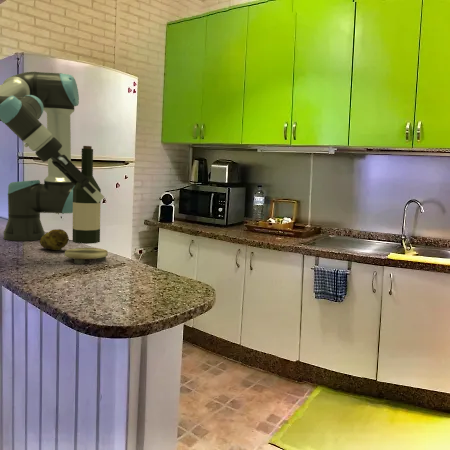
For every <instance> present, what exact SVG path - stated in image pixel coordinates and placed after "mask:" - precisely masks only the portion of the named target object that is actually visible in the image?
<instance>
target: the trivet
mask: <svg viewBox="0 0 450 450" xmlns="http://www.w3.org/2000/svg"><path fill="white" fill-rule="evenodd" d="M107 256H108V249H105V248H104V249H103V248H98V247H79V248H77V247H76V248H70V249H67V250H65V251H64V257H66V258H69V259H74V260H73V261H74V264H75V265H83V264H85V262H86V261H85V260H92V259H93V260H94V259H95V260H96V262H106V261H107Z"/></svg>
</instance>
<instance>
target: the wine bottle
mask: <svg viewBox="0 0 450 450" xmlns="http://www.w3.org/2000/svg"><path fill="white" fill-rule="evenodd" d="M93 168H94V149H93V148H92V146H91V145H83V146H82V148H81V170H80V171H81V172H82V173H83V174H84V175H85V176H86V177H87V178H88V179H89V182H90V183H91V184H92V185H93V186H94V187H95V188H96V189H97V190H98V191H99V192H100V193H101V191H102V190H101V188H100V185H99V184H98V183H97V181H96V179H95V178H94V176H93V175H94V173H93V172H94V169H93ZM80 187H81V185H80V184H79V183H78V182H77V183H76V185H75V186H74V188H73V213H72V242H73V243H75V244H82V245H83V244H85V245H87V244H88V245H89V244H91V245H92V244H98V243H100V242H101V201H102V200H101V201H100V202H99V203H97V202H96V201H95V200H94V199H93V198H92V197H91V196H90V195H89V194H88V193H87V192H86V191H85V190H84V189H83V188H82V189H81V188H80ZM101 194H102V193H101Z"/></svg>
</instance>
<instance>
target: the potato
mask: <svg viewBox="0 0 450 450" xmlns="http://www.w3.org/2000/svg"><path fill="white" fill-rule="evenodd" d="M39 243H40V246H41V247H42V248H44V249H48V250H51V251H59V250H62V249H63V248H65V247H66V245H68V243H69V236H68V233H67V232H66V231H65V230H63V229H60V228H58V229H51V230H49V231H48V232H46V233H45V234H44V236H42V237H41V239H40V240H39Z"/></svg>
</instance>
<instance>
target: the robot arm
mask: <svg viewBox="0 0 450 450" xmlns="http://www.w3.org/2000/svg"><path fill="white" fill-rule="evenodd" d="M79 100H80V96H79V89H78V84H77V81H76V79H75V77H74V76H73V75H71V74H69V73H67V74H66V73H62V72H41V71H40V72H39V71H27V72H22V73H18V74H14V75H12V76H9V77H7V78H6V79H4V81H3V83H2V84H0V122H2V123H3V124H4V125H5V126H6V127H8V129H10V131H12V133H14V134H15V135H16V136H17V137H18V138H19V139H20V140H21V141H22V142H23V143H24V147H25V148H28V147H29V149H30V151H31V152H35V156H37V157H38V158H39V159H40V160H41V161H42V162H44V163H45V162H47V176H46V177H45V178H44V179H43V181H44V182H43V183H41V181H40V180H39V179H36V180H35V179H34V180H23V181H21V180H20V181H12V182H9V184H8V187H7V208H8V209H7V216H8V217H7V218H8V219H7V222H6V226H5V227H4V231H3V239H4V240H7V241H14V242H17V241H18V242H24V241H25V242H27V241H28V242H29V241H38V240H39V241H40V239H41V237H42V236H44V234H46V233H45V230H44V228H43V227H44V226H43V224H42V222H41V221H42V220H41V214H62V215H64V214H73V188H74V186H75V185H76V183H77V182H78V183H79V184H80V185H81V187H80V188H81V189H82V188H83V189H84V190H85V191H86V192H87V193H88V194H89V195H90V196H91V197H92V198H93V199H94V200H95V201H96V202H97V203H99V202H100V201H102V200H103V199H104V198H105V196H104V195H103V193H100V192H99V191H98V190H97V189H96V188H95V187H94V186H93V185H92V184H91V183H90V182H89V179H88V178H87V177H86V176H85V175H84V174H83V173H82V172H81V170H80V169H79V168H78V167H77V166H76V165H74V163H72V160H71V159H72V153H71V151H72V150H71V149H72V144H71V134H72V133H71V115H72V114H73V113H74V112H75V107H77V106H79V104H80V101H79ZM44 112H45V113H46V123H47V124H46V126H45V125H44V124H42V123H41V121H39V120H40V118H41V117H42V115H43V114H44ZM100 203H101V202H100Z"/></svg>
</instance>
